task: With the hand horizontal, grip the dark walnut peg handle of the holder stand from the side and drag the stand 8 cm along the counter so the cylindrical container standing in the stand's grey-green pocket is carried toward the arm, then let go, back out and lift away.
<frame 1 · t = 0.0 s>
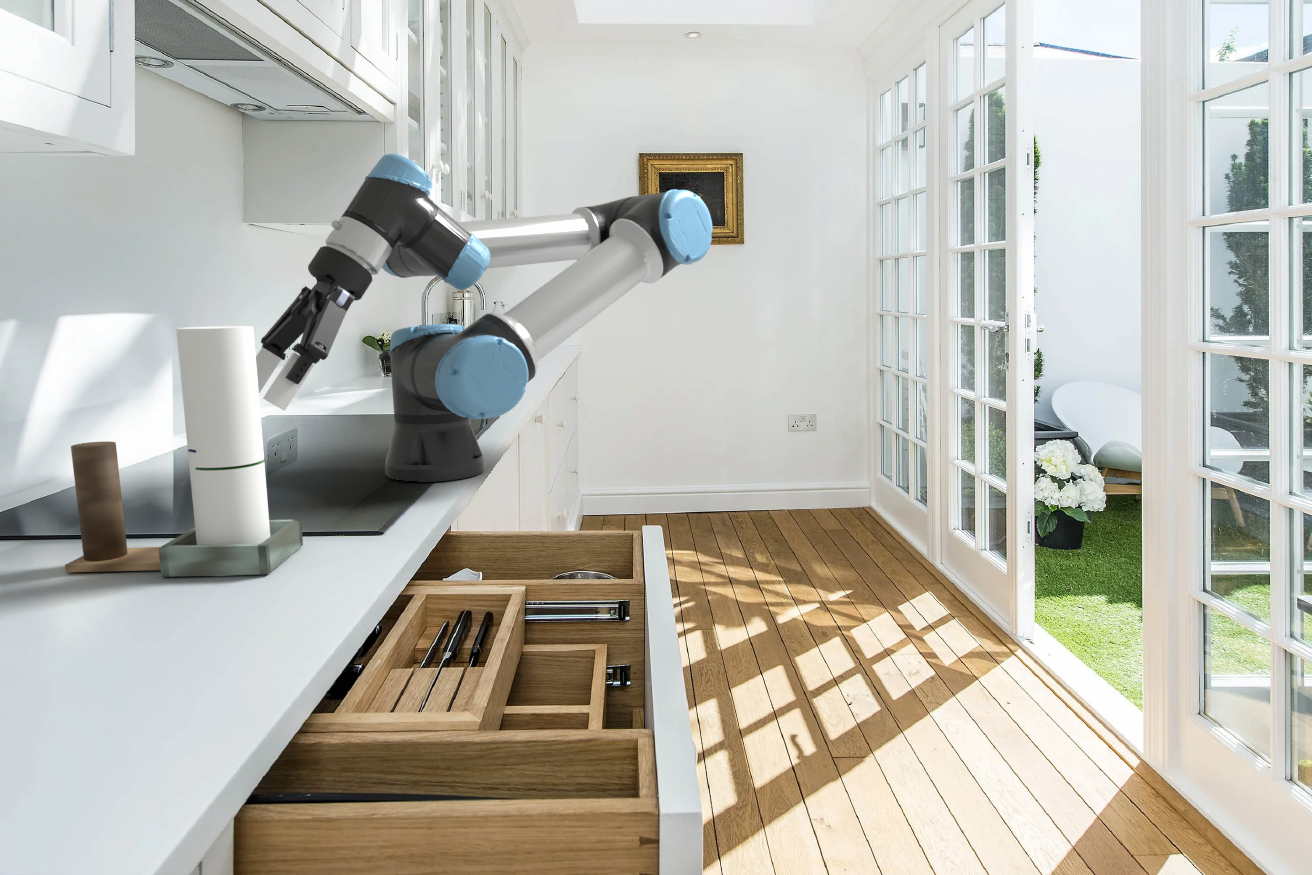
hand: (258, 399, 113), 15 cm above the counter, tool tilted 35°, fingers open, 13 cm apart
holder stand: (179, 502, 95), point 7 cm above the counter, slide at 0.0 cm
cylindrical container: (236, 563, 97), resting in holder stand
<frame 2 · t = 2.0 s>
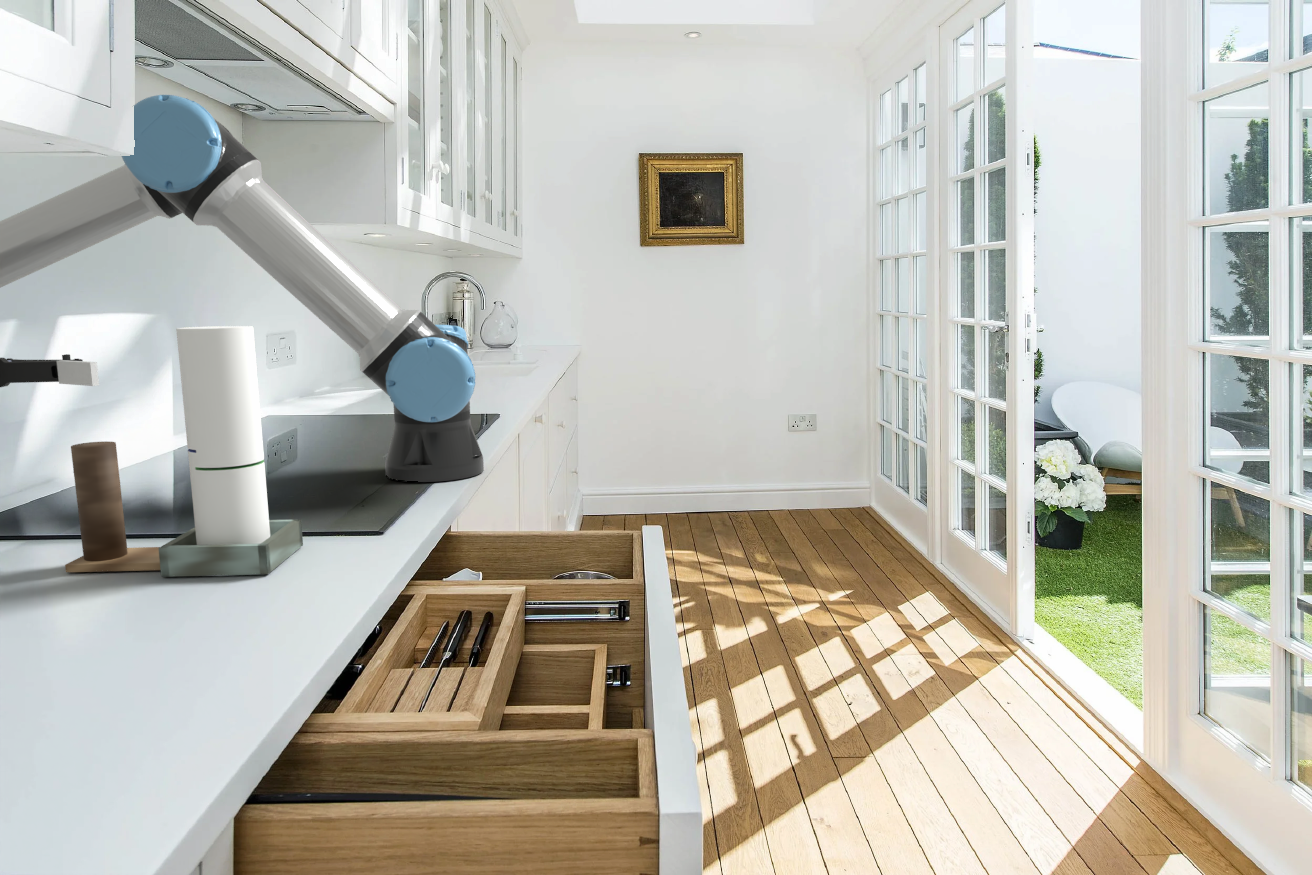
hand: (31, 379, 97), 19 cm above the counter, tool horizontal, fingers open, 13 cm apart
nothing on the counter moved.
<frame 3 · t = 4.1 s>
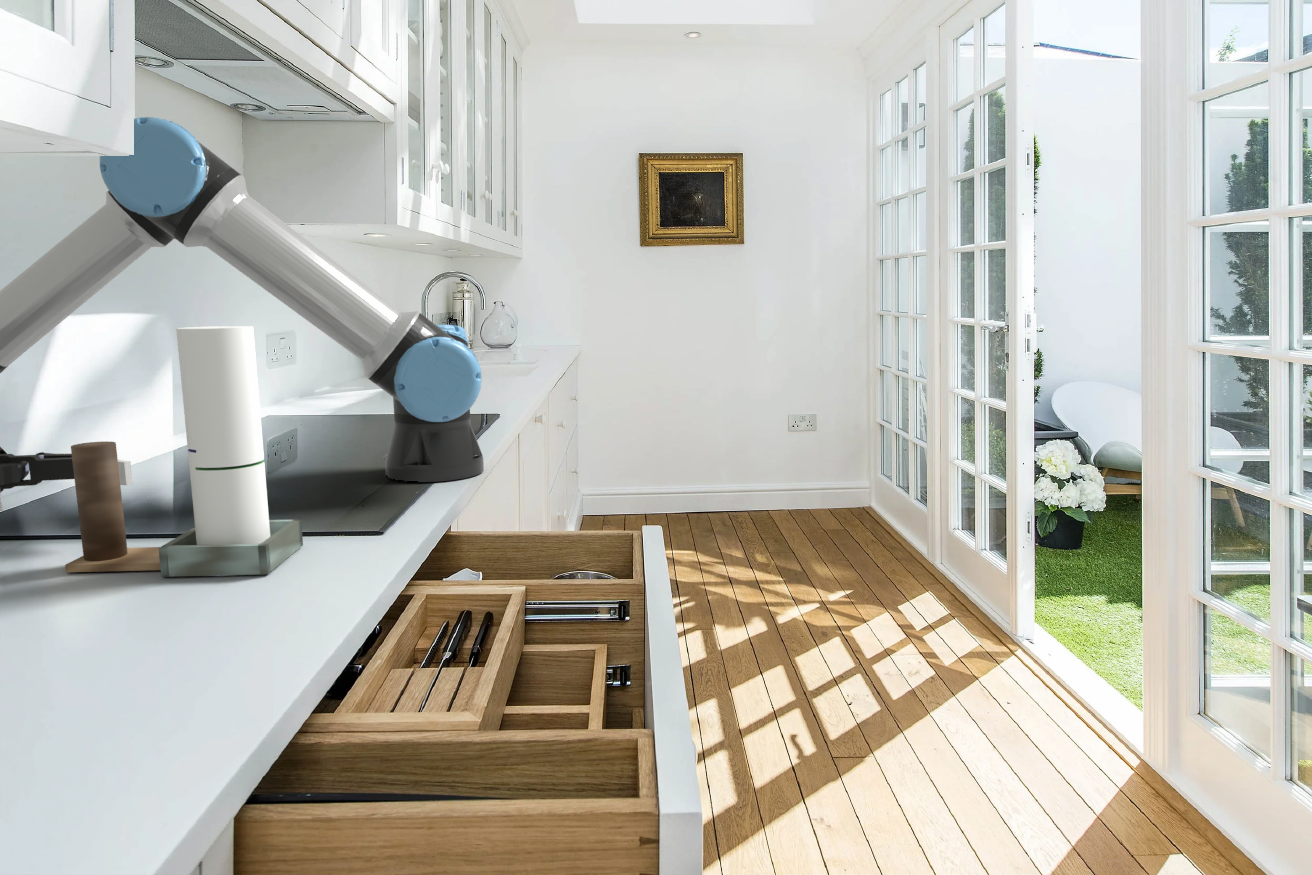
hand: (67, 485, 96), 8 cm above the counter, tool horizontal, fingers open, 13 cm apart
nothing on the counter moved.
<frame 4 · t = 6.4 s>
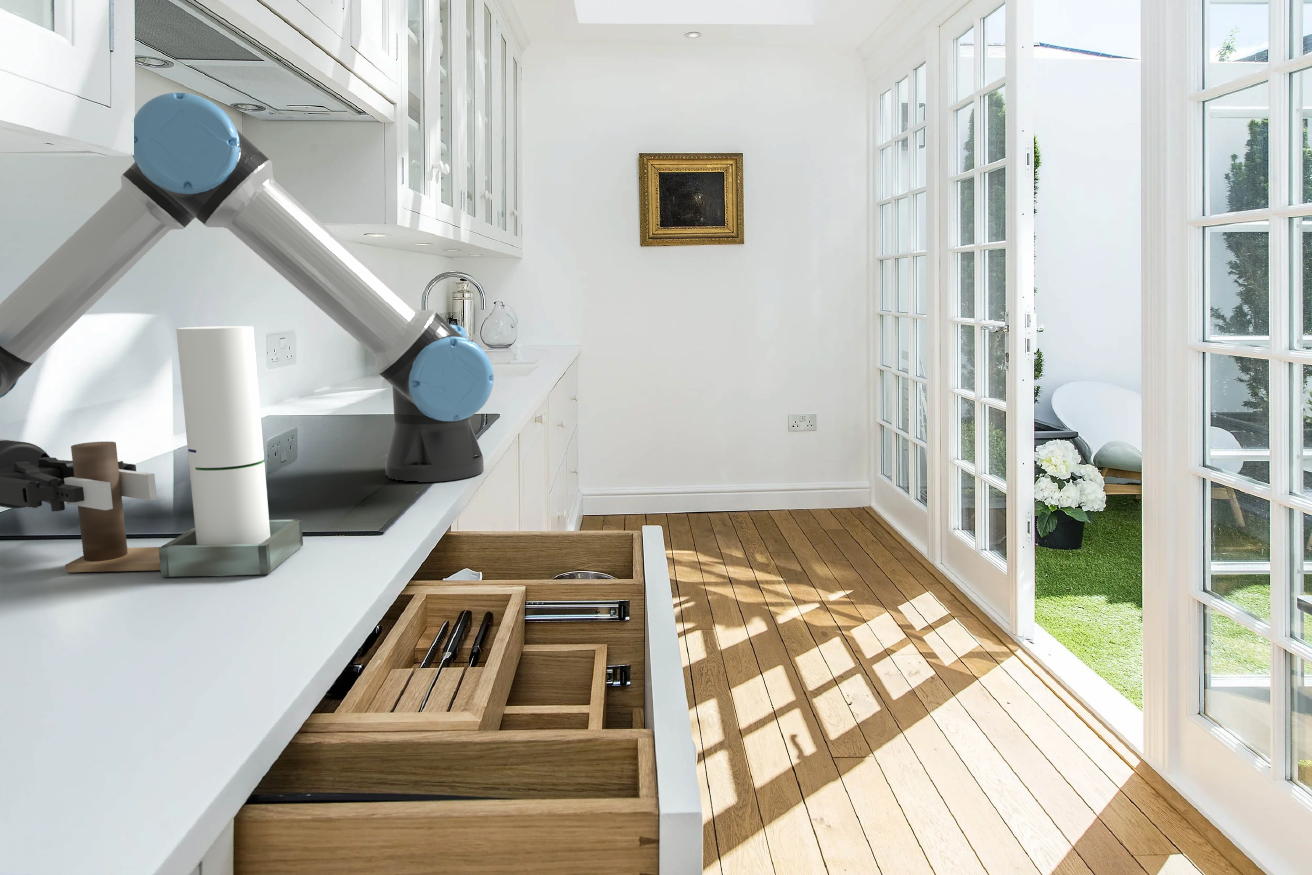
hand: (130, 491, 92), 8 cm above the counter, tool horizontal, fingers closed on holder stand, 4 cm apart
holder stand: (179, 502, 95), point 7 cm above the counter, slide at 0.0 cm, touching gripper
everything else where it was.
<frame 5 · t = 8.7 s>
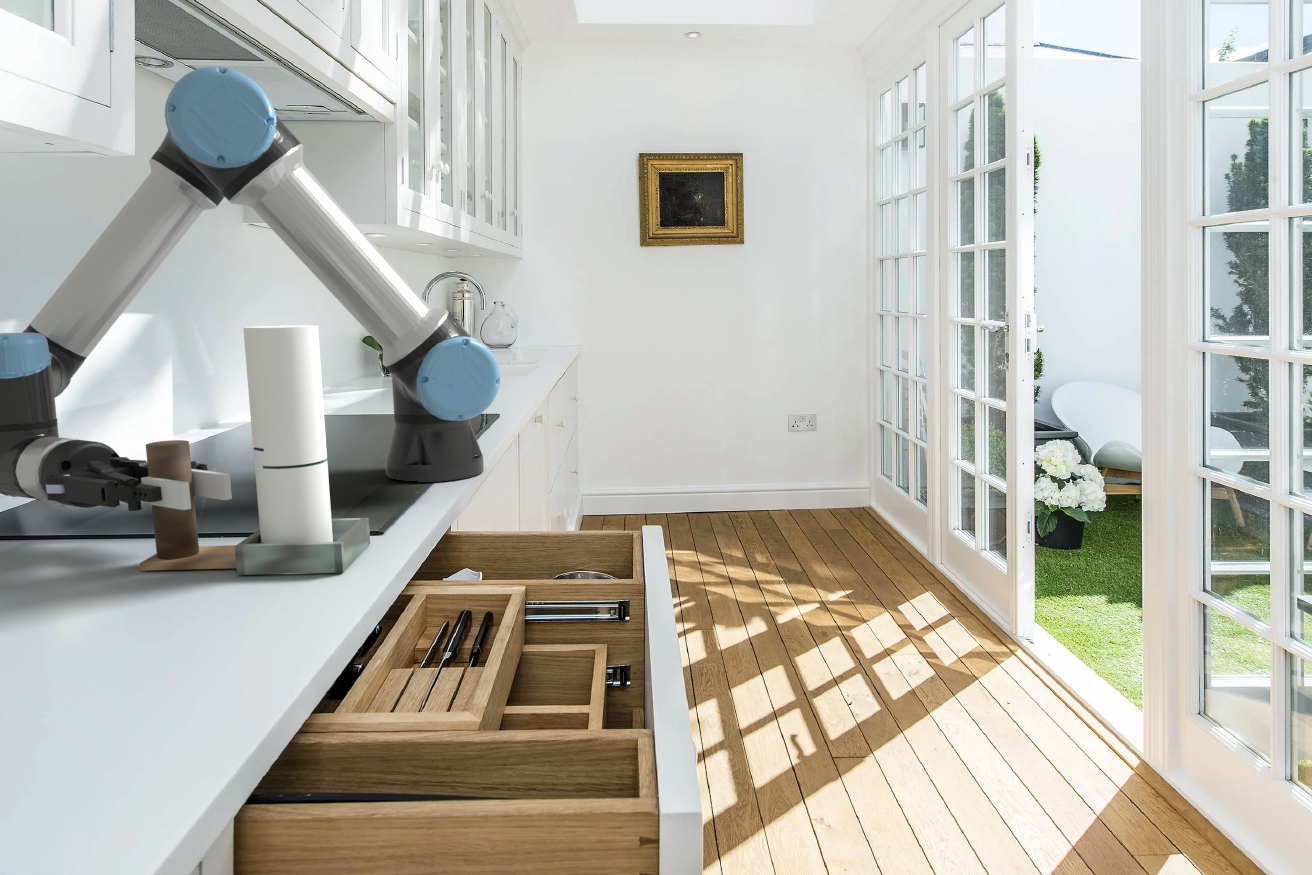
hand: (207, 491, 92), 8 cm above the counter, tool horizontal, fingers closed on holder stand, 4 cm apart
holder stand: (251, 501, 96), point 7 cm above the counter, slide at 7.5 cm, touching cylindrical container, gripper
cylindrical container: (299, 561, 97), resting in holder stand
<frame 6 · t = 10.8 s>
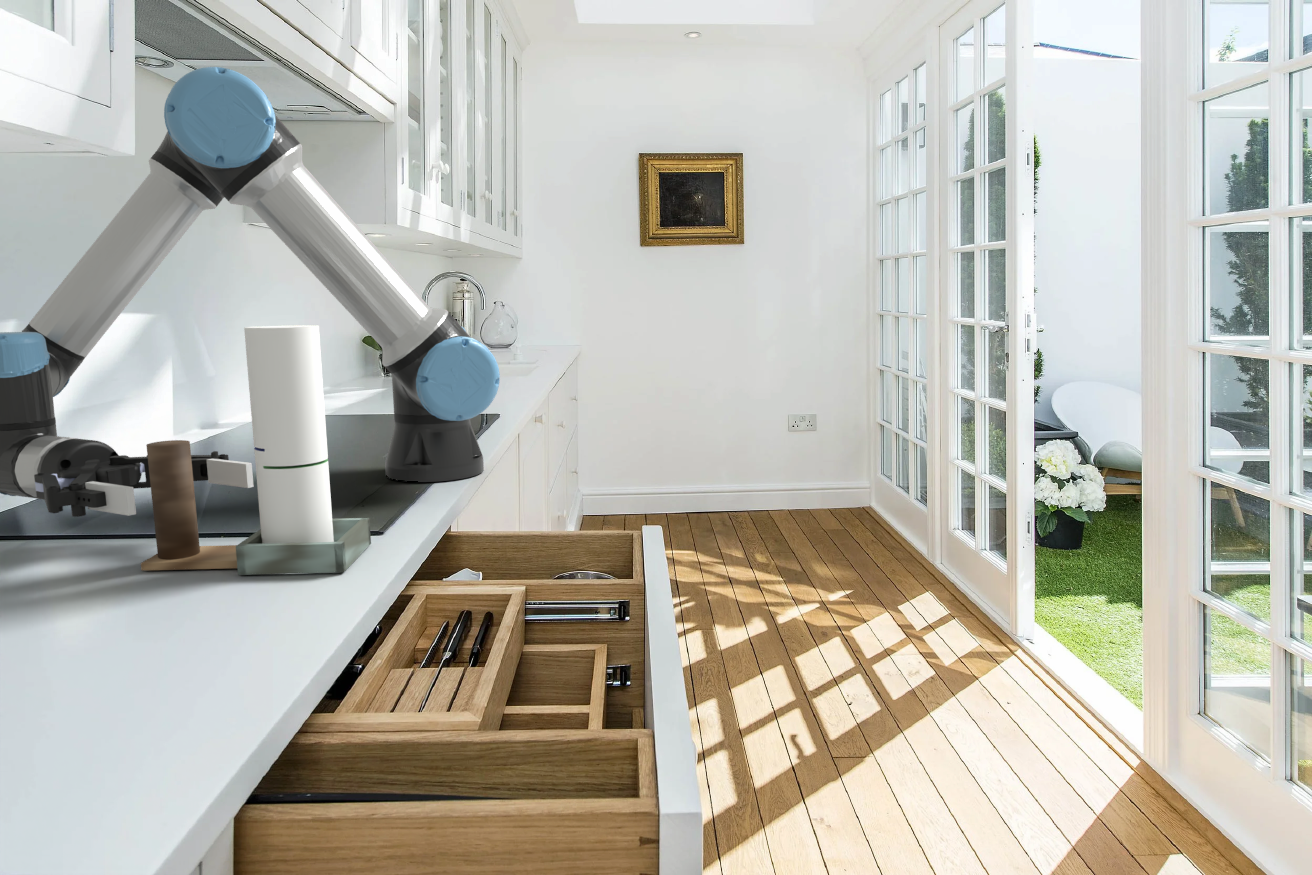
hand: (194, 487, 94), 9 cm above the counter, tool horizontal, fingers open, 13 cm apart
holder stand: (252, 501, 96), point 7 cm above the counter, slide at 7.6 cm
cylindrical container: (299, 561, 97), resting in holder stand
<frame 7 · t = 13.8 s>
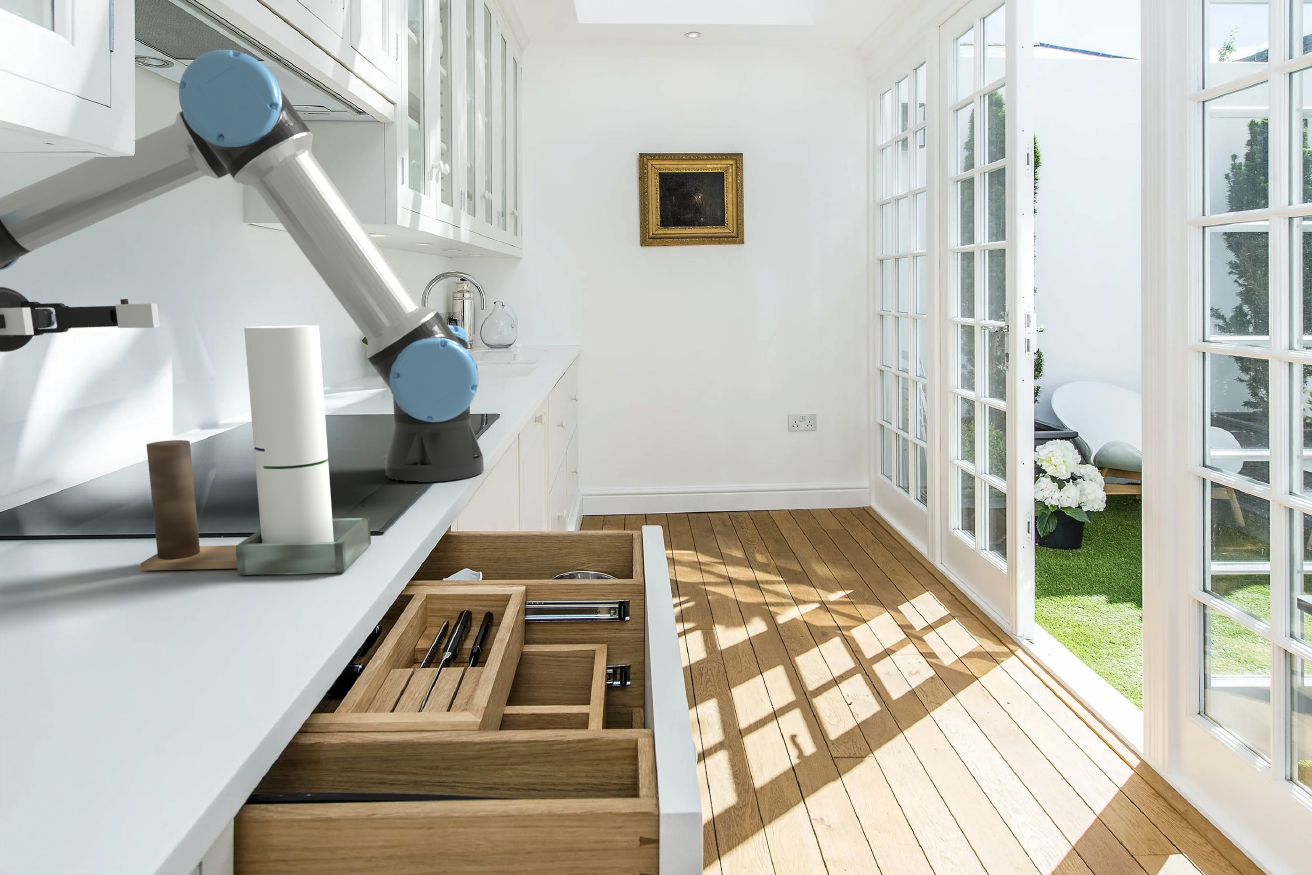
hand: (96, 318, 96), 26 cm above the counter, tool horizontal, fingers open, 13 cm apart
nothing on the counter moved.
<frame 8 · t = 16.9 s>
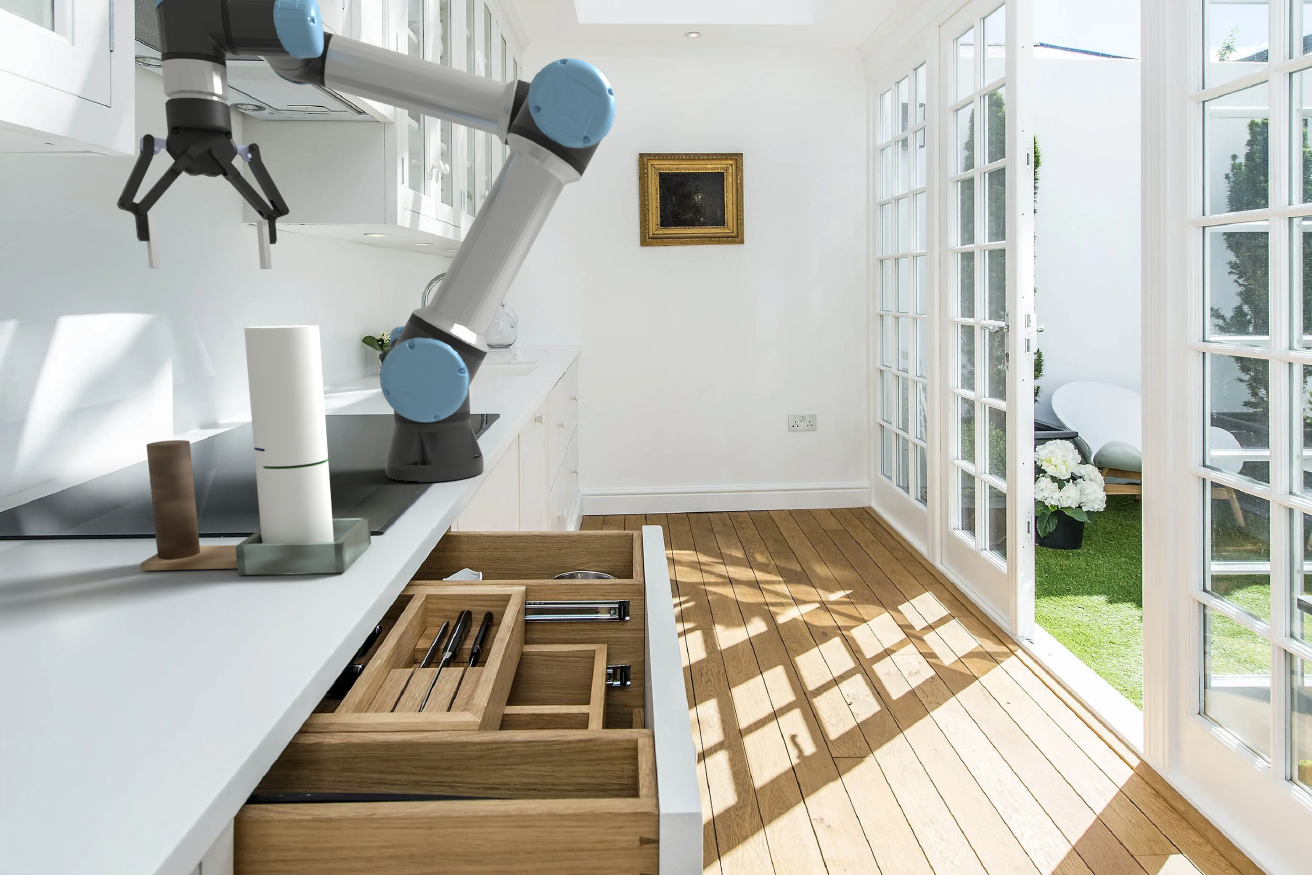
hand: (212, 268, 120), 32 cm above the counter, tool pointing down, fingers open, 13 cm apart
nothing on the counter moved.
at the end: holder stand slide at 7.6 cm; cylindrical container moved 6.7 cm from its start; cylindrical container tilted 0° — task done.
